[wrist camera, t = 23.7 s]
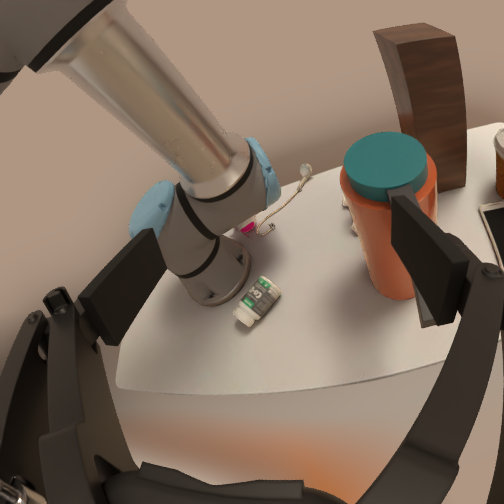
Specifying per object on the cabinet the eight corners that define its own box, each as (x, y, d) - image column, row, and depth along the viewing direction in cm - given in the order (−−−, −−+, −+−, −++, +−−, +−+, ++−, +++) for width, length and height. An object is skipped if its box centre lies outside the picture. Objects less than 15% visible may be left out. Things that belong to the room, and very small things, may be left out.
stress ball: (231, 247, 58) (261, 235, 57) (217, 210, 58) (247, 198, 57) (238, 245, 66) (265, 234, 65) (226, 212, 66) (252, 202, 65)
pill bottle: (272, 281, 46) (240, 321, 45) (286, 295, 49) (256, 332, 48) (256, 271, 50) (226, 308, 49) (270, 285, 53) (242, 320, 52)
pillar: (465, 186, 41) (455, 35, 20) (422, 197, 46) (395, 43, 25) (445, 155, 47) (424, 22, 26) (407, 164, 51) (372, 31, 30)
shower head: (245, 224, 60) (293, 160, 64) (253, 234, 62) (299, 171, 67) (263, 230, 56) (312, 162, 61) (271, 240, 58) (317, 173, 63)
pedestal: (358, 284, 44) (322, 195, 29) (386, 233, 46) (363, 135, 31) (416, 310, 36) (419, 223, 21) (441, 253, 38) (445, 150, 24)
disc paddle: (342, 157, 31) (337, 144, 29) (410, 138, 27) (408, 124, 26) (379, 338, 18) (377, 331, 17) (487, 310, 15) (494, 299, 13)
